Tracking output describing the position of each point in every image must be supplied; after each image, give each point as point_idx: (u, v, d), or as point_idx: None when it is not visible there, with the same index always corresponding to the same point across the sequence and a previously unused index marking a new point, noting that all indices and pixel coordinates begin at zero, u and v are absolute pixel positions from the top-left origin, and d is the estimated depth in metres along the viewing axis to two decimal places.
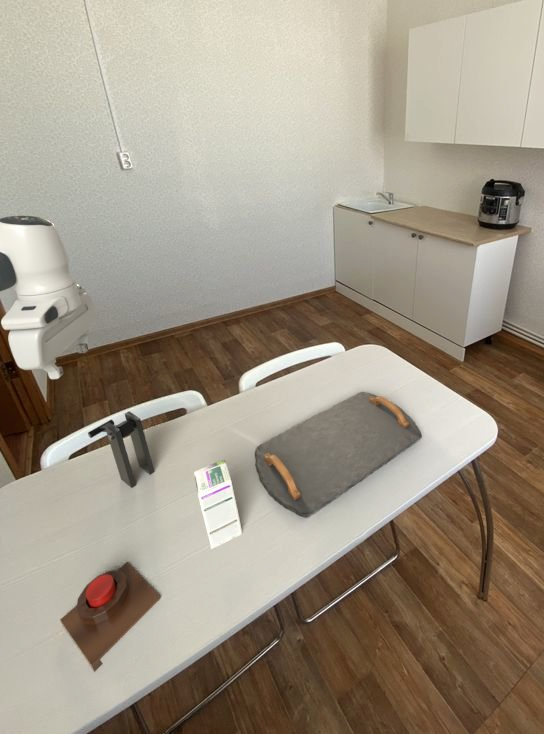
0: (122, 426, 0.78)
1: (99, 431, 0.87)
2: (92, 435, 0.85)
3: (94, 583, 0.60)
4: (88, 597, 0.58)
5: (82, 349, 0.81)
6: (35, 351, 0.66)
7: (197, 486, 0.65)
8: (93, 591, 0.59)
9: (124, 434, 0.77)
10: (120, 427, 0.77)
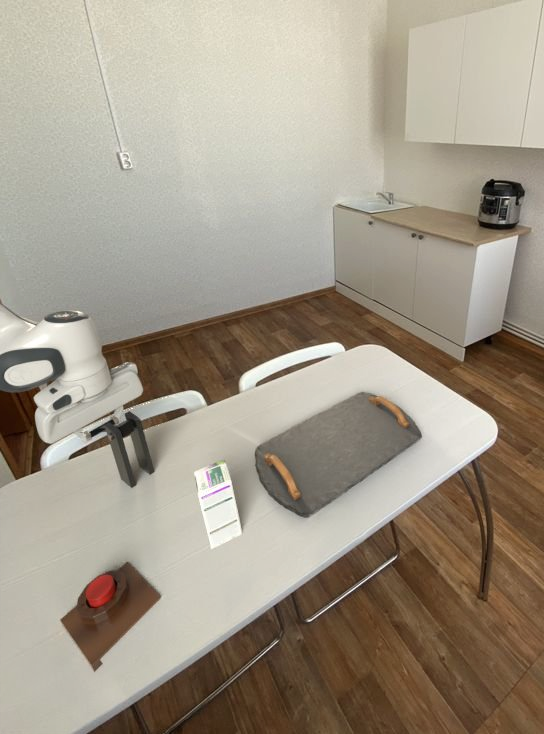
0: (122, 426, 0.78)
1: (99, 431, 0.87)
2: (92, 435, 0.85)
3: (94, 583, 0.60)
4: (88, 597, 0.58)
5: None
6: (43, 431, 0.76)
7: (197, 486, 0.65)
8: (93, 591, 0.59)
9: (124, 434, 0.77)
10: (120, 427, 0.77)
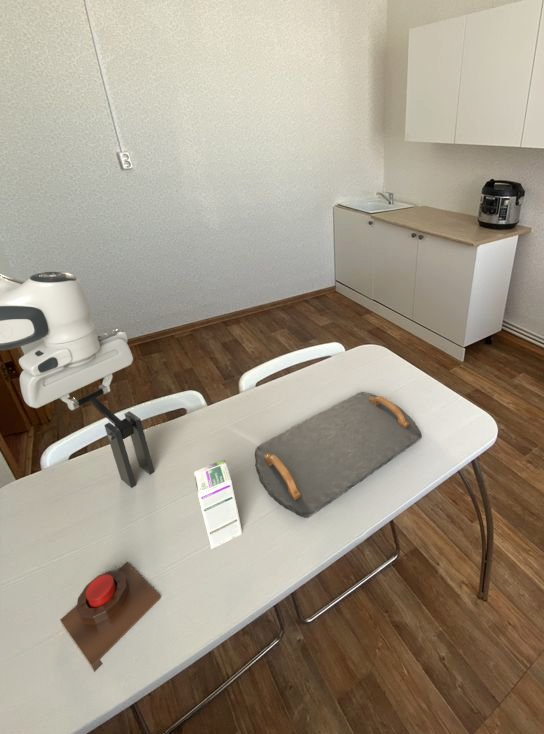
0: (124, 430, 0.77)
1: (87, 401, 0.84)
2: (80, 405, 0.83)
3: (94, 583, 0.60)
4: (88, 597, 0.58)
5: None
6: (27, 394, 0.74)
7: (197, 486, 0.65)
8: (93, 591, 0.59)
9: (124, 437, 0.78)
10: (122, 431, 0.77)
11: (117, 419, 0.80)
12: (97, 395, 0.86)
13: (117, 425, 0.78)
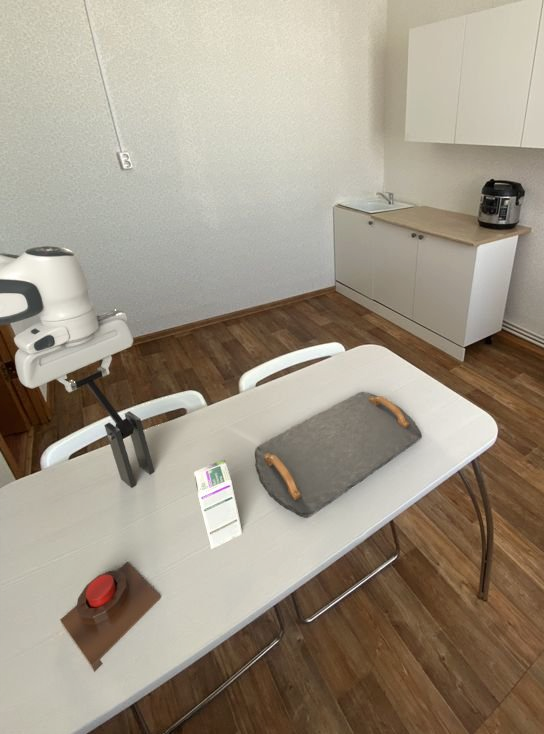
0: (126, 433, 0.78)
1: (85, 384, 0.82)
2: None
3: (94, 583, 0.60)
4: (88, 597, 0.58)
5: (101, 373, 0.84)
6: (23, 373, 0.71)
7: (197, 486, 0.65)
8: (93, 591, 0.59)
9: (123, 437, 0.78)
10: (124, 434, 0.77)
11: (117, 416, 0.80)
12: (95, 378, 0.83)
13: (118, 426, 0.78)
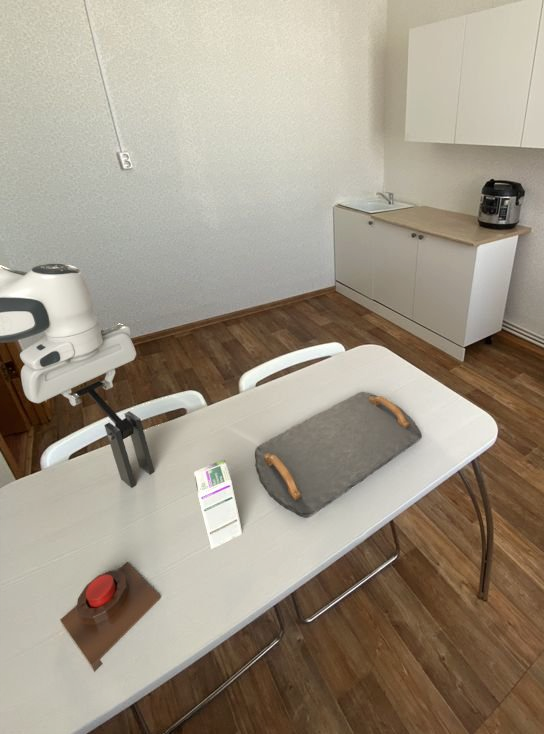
0: (125, 431, 0.78)
1: None
2: None
3: (94, 583, 0.60)
4: (88, 597, 0.58)
5: (104, 386, 0.85)
6: (29, 389, 0.72)
7: (197, 486, 0.65)
8: (93, 591, 0.59)
9: (124, 437, 0.78)
10: (123, 432, 0.77)
11: (117, 417, 0.80)
12: (96, 387, 0.85)
13: (118, 425, 0.78)
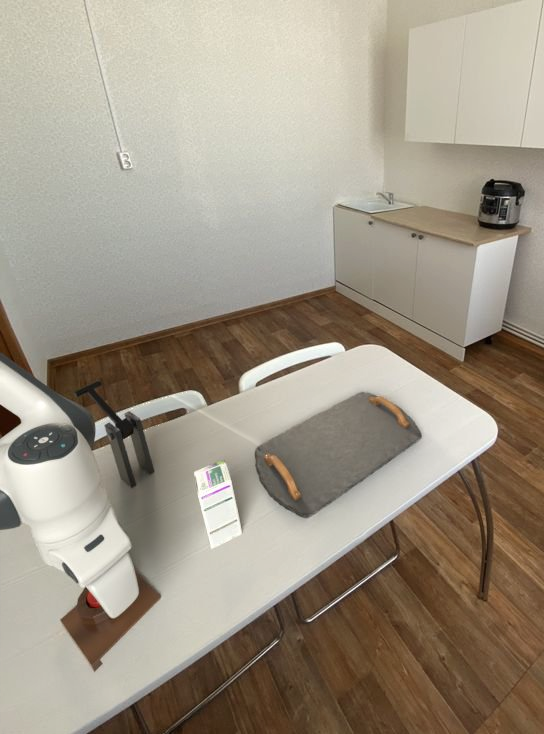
0: (125, 431, 0.78)
1: None
2: (78, 396, 0.82)
3: None
4: (89, 601, 0.58)
5: None
6: (133, 581, 0.53)
7: (197, 486, 0.65)
8: None
9: (124, 437, 0.78)
10: (123, 432, 0.77)
11: (117, 417, 0.80)
12: (96, 387, 0.85)
13: (118, 425, 0.78)
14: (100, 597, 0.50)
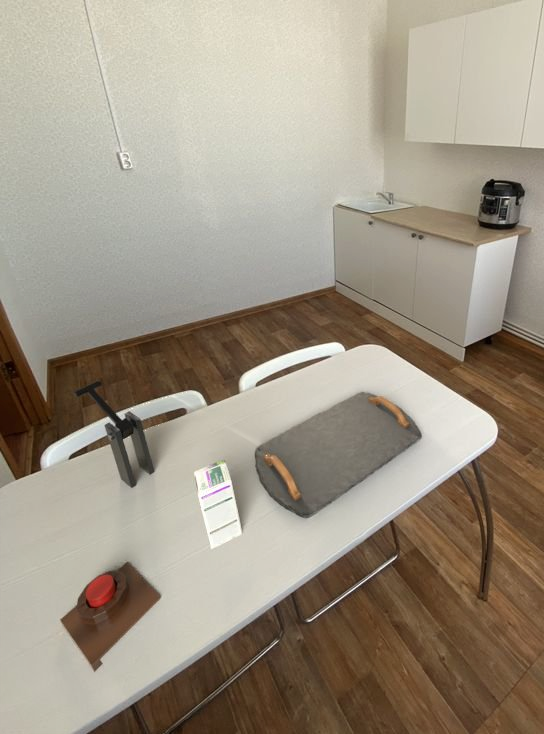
0: (125, 431, 0.78)
1: None
2: (78, 396, 0.82)
3: (94, 583, 0.60)
4: (88, 597, 0.58)
5: None
6: None
7: (197, 486, 0.65)
8: (93, 591, 0.59)
9: (124, 437, 0.78)
10: (123, 432, 0.77)
11: (117, 417, 0.80)
12: (96, 387, 0.85)
13: (118, 425, 0.78)
14: None
